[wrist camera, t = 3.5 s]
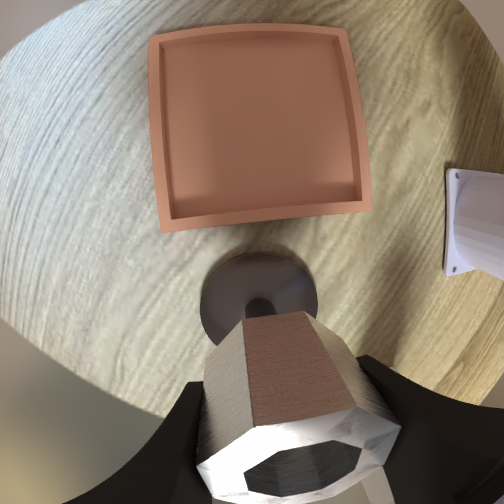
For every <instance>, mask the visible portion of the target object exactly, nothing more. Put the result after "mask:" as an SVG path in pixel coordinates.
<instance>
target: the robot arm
mask: <svg viewBox="0 0 504 504" xmlns="http://www.w3.org/2000/svg"><path fill="white" fill-rule="evenodd" d="M455 174H456V176H455ZM446 187H447V228H446V247H445V260H444V270H443V271H444V274H445V275H446V276H453V275H457V274H461V273H464V272H468V271H472V270H475V269H479V270H482V271H484V272H486V273H488V274H491V275H493V276H495V277H497V278H499V279H502V280H504V174H499V173H491V172H484V171H475V170H465V169H454V168H449V169H447V171H446ZM356 360H357V361H358V363H359V364H360V366H361V367H362V369H363V370H364V372H365V373H366V374H367V376H368V377H369V379H370V380H371V382H372V383H373V385H374V386H375V388H376V389H377V391H378V392H379V394H380V395H381V397H382V398H383V400H384V401H385V403H386V404H387V406H388V407H389V409H390V410H391V412H392V413H393V415H394V416H395V418H396V419H397V421H398V422H399V424H400V425H401V429H400V431H399V433H398V436H397V438H396V440H395V442H394V445H393V447H392V449H391V451H390V453H389V455H388V457H387V459H386V461H385V463H384V465H383V466H382V467H383V469H384V472H385V475H386V477H387V480H388V483H389V486H390V489H391V492H392V495H393V498H394V502H395V504H504V409H502V408H491V407H484V406H478V405H474V404H469V403H465V402H461V401H458V400H455V399H452V398H449V397H446V396H443V395H441V394H438V393H436V392H433V391H431V390H429V389H427V388H425V387H423V386H421V385H419V384H417V383H415V382H413V381H411V380H409V379H407V378H406V377H404V376H402V375H400V374H399V373H397V372H395V371H394V370H392V369H390V368H389V367H387V366H385V365H384V364H382V363H380V362H379V361H377V360H376V359H374V358H372V357H370V356H369V355H365V356H361V357H357V358H356ZM203 382H204V381H198V382H188V383H187V384H186V386H185V387H184V389H183V391H182V393H181V394H180V396H179V398H178V400H177V401H176V403H175V404H174V406H173V408H172V409H171V411H170V412H169V414H168V415H167V416H166V418H165V419H164V421H163V423H162V424H161V425H160V426H159V428H158V429H157V430H156V432H155V433H154V434H153V435H152V437H151V438H150V439H149V440H148V442H147V443H146V444H145V445H144V446H143V447H142V448H141V450H140V451H139V452H138V453H137V454H136V455H135V456H134V457H133V458H132V459H131V460H130V461H128V462H127V463H126V464H125V465H124V466H123V467H122V468H121V469H119V470H118V471H117V472H116V473H114V474H113V475H112V476H111V477H109V478H108V479H106V480H105V481H103V482H102V483H100V484H99V485H97V486H96V487H94V488H93V489H91V490H90V491H88V492H86V493H84V494H82V495H80V496H78V497H76V498H74V499H72V500H70V501H68V502H65V503H63V504H212V494H211V492H210V490H209V489H208V487H207V485H206V484H205V482H204V480H203V478H202V476H201V475H200V473H199V471H198V469H197V467H196V464H197V450H198V437H199V425H200V414H201V403H202V395H203Z"/></svg>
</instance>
